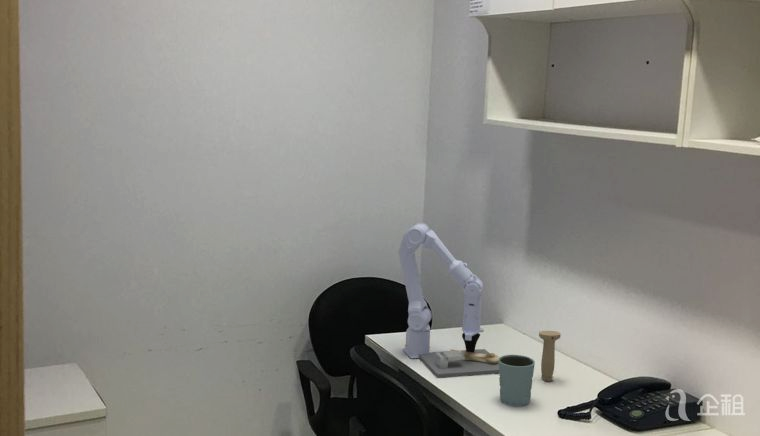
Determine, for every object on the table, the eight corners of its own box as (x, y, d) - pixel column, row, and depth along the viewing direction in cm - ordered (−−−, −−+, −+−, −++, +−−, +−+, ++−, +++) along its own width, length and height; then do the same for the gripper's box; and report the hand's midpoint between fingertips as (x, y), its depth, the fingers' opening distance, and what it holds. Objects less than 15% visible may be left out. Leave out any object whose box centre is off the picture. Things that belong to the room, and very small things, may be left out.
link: (500, 360, 244) (500, 352, 244) (497, 364, 240) (497, 357, 239) (451, 353, 249) (451, 346, 249) (447, 357, 245) (448, 350, 245)
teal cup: (539, 403, 213) (542, 362, 211) (513, 410, 208) (515, 368, 206) (515, 391, 222) (517, 352, 220) (489, 397, 216) (491, 357, 214)
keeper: (458, 361, 242) (458, 351, 242) (464, 367, 237) (464, 356, 237) (435, 363, 240) (435, 352, 240) (440, 368, 235) (440, 357, 235)
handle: (559, 382, 230) (562, 335, 227) (539, 383, 229) (542, 335, 226) (553, 376, 234) (556, 330, 232) (534, 377, 233) (537, 330, 231)
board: (417, 356, 250) (417, 353, 250) (484, 352, 256) (484, 348, 256) (437, 377, 231) (437, 374, 230) (509, 372, 237) (509, 369, 237)
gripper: (481, 322, 237) (479, 363, 239) (487, 310, 251) (484, 349, 253) (459, 320, 239) (457, 361, 241) (466, 308, 253) (464, 347, 255)
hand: (470, 355), depth 247 cm, fingers closed, pressing on link
